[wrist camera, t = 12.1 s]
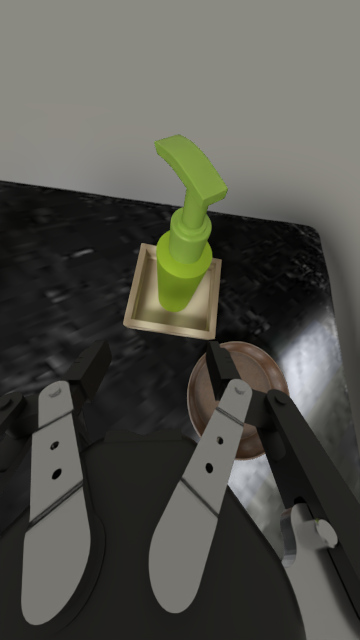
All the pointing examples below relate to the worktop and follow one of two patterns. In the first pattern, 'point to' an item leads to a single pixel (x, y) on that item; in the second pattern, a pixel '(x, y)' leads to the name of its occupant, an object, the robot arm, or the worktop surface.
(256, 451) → the plant saucer
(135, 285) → the birch crate
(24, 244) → the worktop surface
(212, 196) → the soap dispenser
